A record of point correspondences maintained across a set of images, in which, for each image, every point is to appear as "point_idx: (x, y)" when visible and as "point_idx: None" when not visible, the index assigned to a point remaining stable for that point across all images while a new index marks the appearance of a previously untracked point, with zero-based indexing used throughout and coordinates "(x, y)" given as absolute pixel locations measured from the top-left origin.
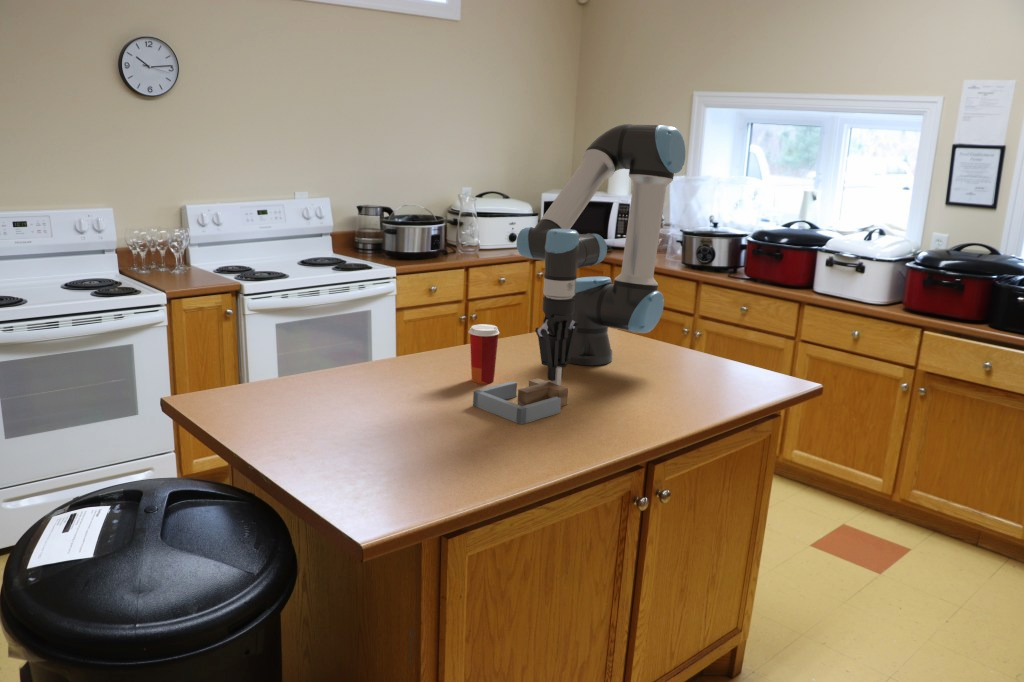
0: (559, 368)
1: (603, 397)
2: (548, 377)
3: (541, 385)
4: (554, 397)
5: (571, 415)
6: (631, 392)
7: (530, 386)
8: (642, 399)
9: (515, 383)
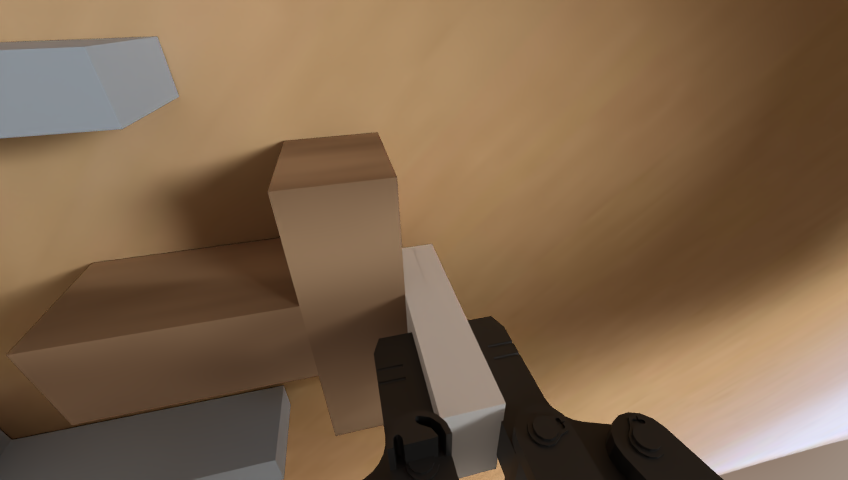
0: (463, 470)
1: (593, 326)
2: (375, 364)
3: (292, 337)
4: (254, 469)
5: (317, 431)
6: (710, 321)
7: (181, 329)
8: (655, 381)
9: (100, 128)
